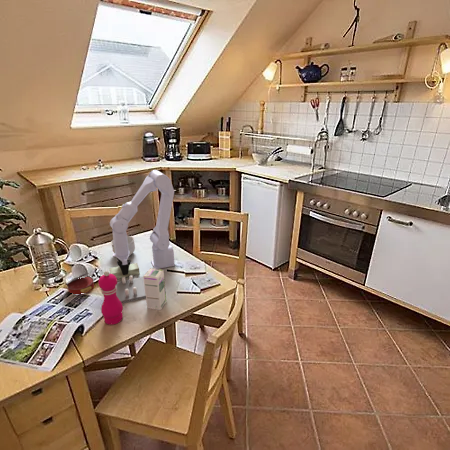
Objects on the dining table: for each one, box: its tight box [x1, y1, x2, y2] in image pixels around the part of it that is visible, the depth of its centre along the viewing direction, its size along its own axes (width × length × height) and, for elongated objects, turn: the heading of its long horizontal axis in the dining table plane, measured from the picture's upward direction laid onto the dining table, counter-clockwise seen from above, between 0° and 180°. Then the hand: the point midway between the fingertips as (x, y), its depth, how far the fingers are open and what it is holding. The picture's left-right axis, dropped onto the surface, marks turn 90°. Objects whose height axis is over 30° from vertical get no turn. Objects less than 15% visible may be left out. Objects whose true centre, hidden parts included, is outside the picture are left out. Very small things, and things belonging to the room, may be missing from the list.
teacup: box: [110, 235, 136, 256], centre depth 156 cm, size 14×11×8 cm
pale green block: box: [108, 262, 140, 280], centre depth 139 cm, size 12×5×3 cm, turn 114°
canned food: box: [65, 272, 95, 294], centre depth 128 cm, size 11×10×10 cm
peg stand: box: [116, 275, 146, 304], centre depth 127 cm, size 18×14×4 cm
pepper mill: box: [98, 270, 124, 326], centre depth 108 cm, size 7×7×20 cm
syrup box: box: [142, 267, 167, 311], centre depth 117 cm, size 6×6×14 cm
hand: (124, 271), depth 139 cm, fingers closed on pale green block, 5 cm apart
